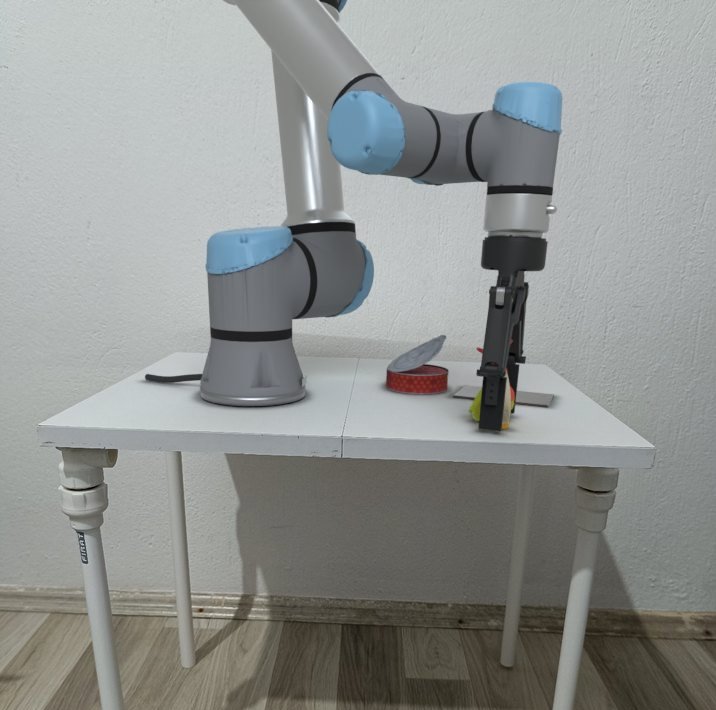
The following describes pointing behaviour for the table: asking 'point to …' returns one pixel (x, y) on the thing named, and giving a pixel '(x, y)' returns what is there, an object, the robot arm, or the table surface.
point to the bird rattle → (507, 403)
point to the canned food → (418, 370)
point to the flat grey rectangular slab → (521, 396)
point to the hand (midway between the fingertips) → (497, 420)
